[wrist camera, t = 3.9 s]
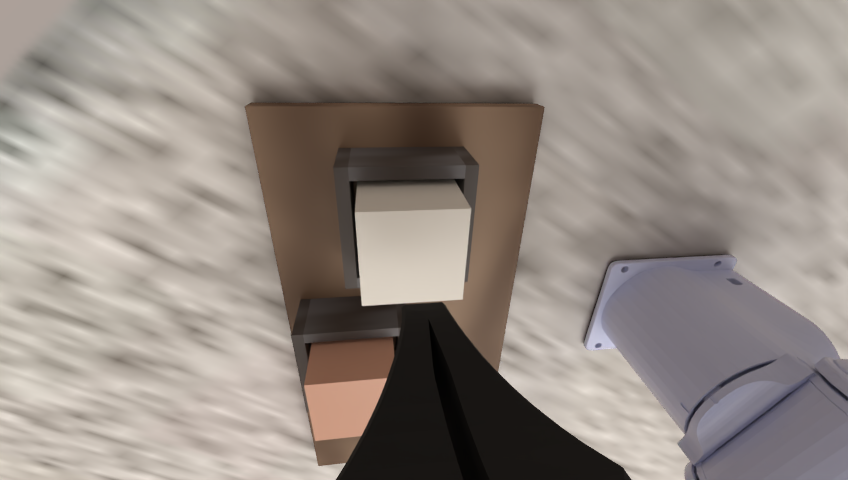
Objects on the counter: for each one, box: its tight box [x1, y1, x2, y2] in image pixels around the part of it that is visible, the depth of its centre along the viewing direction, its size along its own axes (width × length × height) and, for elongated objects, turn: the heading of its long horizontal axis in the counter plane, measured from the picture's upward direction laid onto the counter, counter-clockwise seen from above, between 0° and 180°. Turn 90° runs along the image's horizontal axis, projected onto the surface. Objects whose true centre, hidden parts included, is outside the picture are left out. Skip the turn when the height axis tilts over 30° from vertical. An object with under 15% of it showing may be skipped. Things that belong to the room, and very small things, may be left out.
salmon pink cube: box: [304, 337, 394, 441], centre depth 20 cm, size 4×4×4 cm
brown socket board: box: [245, 103, 544, 466], centre depth 23 cm, size 14×28×4 cm, turn 179°
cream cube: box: [355, 179, 471, 306], centre depth 16 cm, size 4×4×4 cm
